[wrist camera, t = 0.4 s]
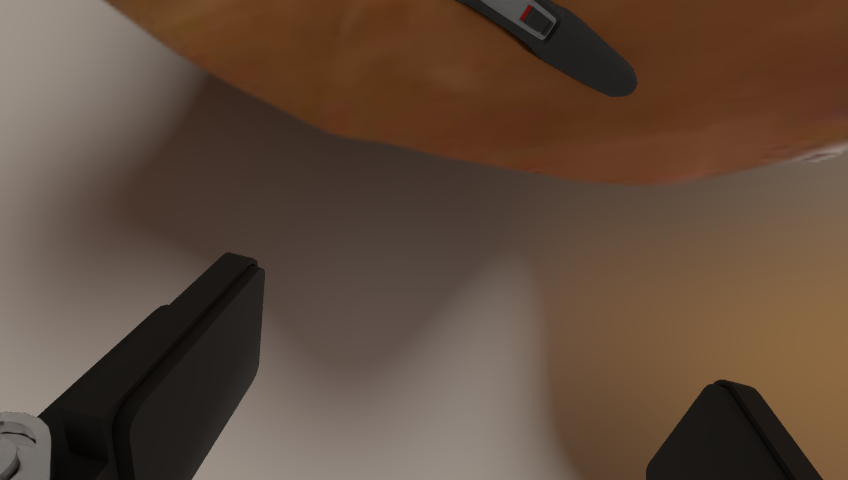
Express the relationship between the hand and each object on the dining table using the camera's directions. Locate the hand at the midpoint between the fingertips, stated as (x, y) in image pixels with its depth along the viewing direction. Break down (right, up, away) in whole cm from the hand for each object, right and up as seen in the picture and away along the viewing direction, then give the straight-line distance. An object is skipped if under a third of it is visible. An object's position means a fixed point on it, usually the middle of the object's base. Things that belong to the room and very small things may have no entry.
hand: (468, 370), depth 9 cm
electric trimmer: (+8, +19, +23) cm, 31 cm away
